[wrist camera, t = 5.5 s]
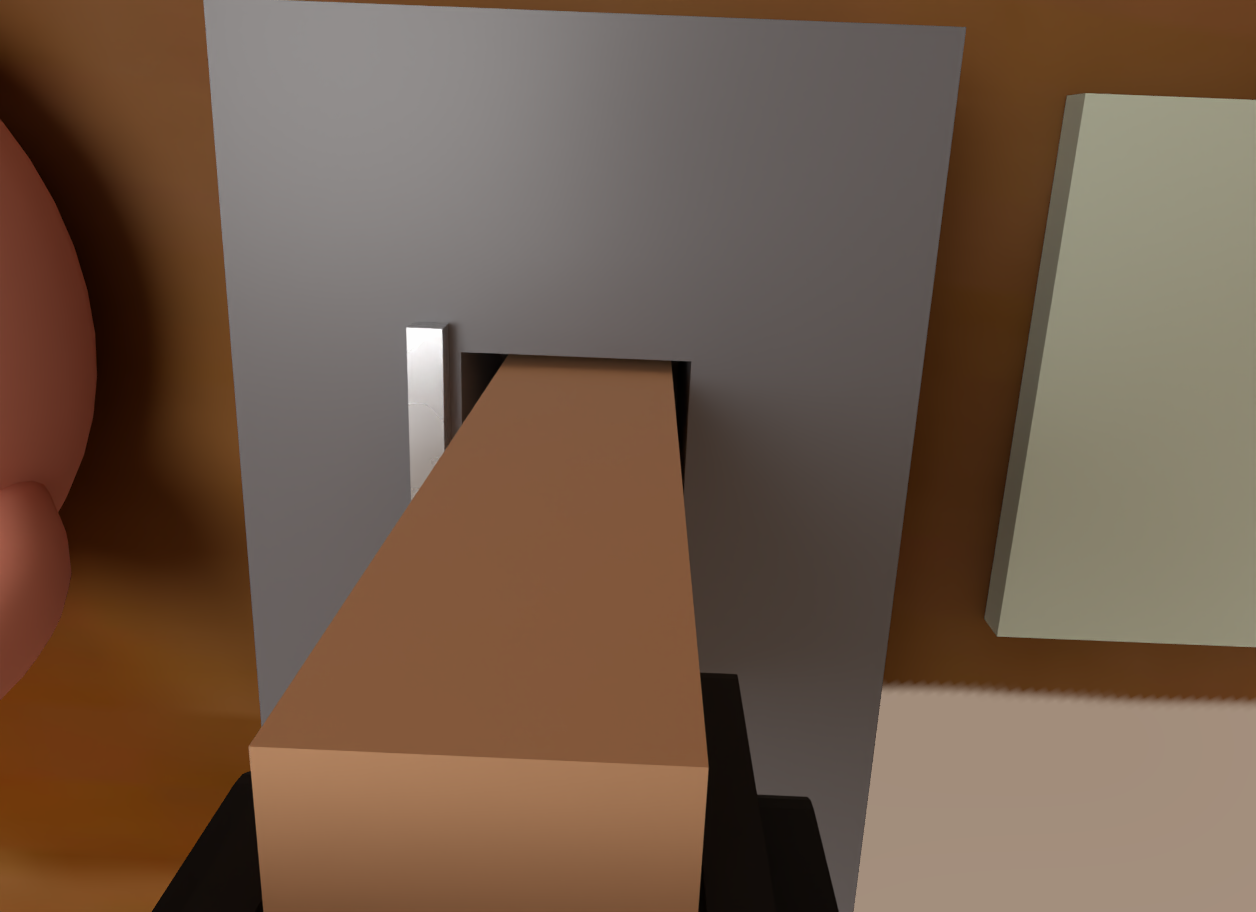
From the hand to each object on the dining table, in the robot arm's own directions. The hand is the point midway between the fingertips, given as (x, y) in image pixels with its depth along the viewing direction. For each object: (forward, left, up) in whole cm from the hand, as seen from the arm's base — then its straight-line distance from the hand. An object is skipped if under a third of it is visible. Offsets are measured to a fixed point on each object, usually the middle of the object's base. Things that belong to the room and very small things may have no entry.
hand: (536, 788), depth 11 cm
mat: (-17, -2, -15) cm, 22 cm away
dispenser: (0, 0, -15) cm, 15 cm away
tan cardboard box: (0, 0, -10) cm, 10 cm away
